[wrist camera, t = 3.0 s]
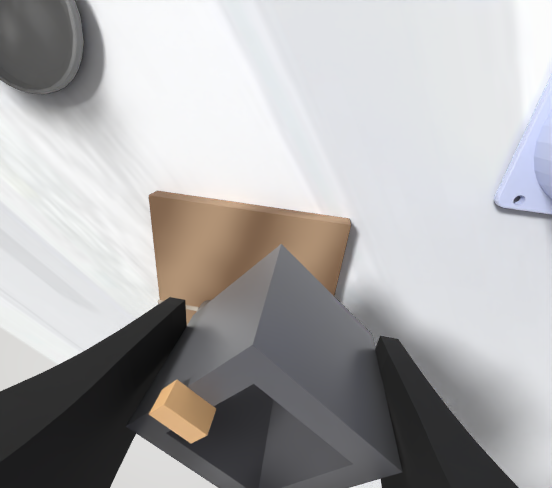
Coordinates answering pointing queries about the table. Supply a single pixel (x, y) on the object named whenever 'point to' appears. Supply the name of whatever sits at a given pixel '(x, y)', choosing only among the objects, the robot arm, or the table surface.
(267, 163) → the table surface
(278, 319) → the grey hollow cube
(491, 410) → the table surface
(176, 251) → the board
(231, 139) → the table surface
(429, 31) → the table surface
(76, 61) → the pocket watch
